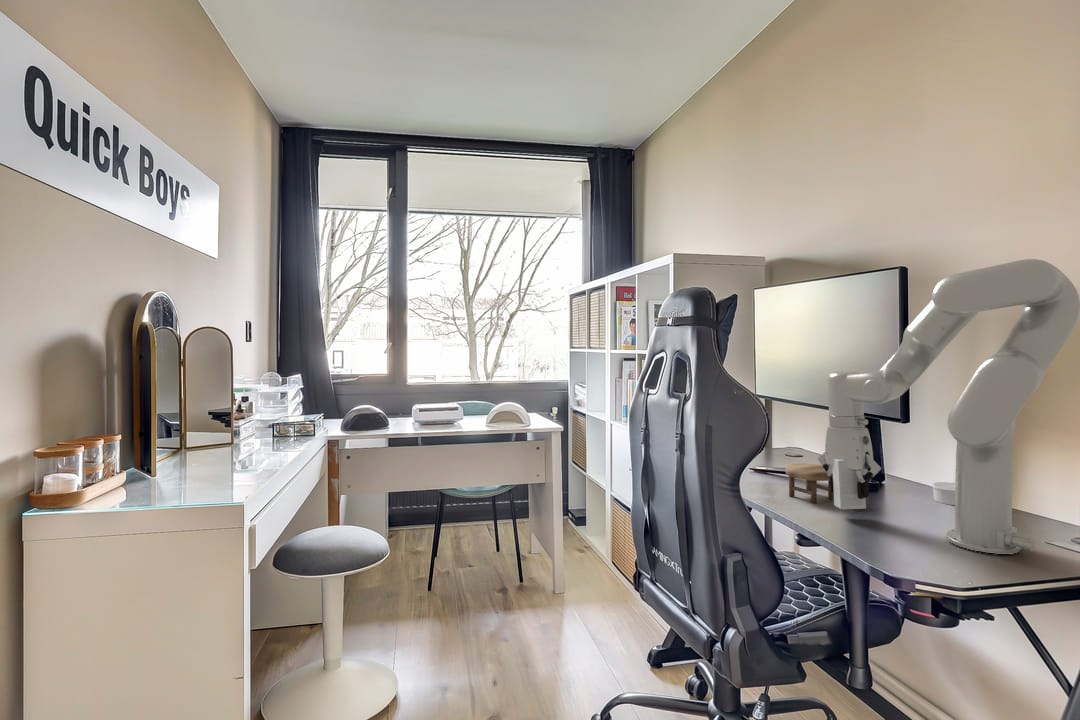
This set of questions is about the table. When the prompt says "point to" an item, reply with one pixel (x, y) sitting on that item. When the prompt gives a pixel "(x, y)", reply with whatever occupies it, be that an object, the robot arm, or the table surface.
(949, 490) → the ramekin
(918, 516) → the table surface
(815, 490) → the walnut stool
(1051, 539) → the table surface
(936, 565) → the table surface
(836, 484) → the skincare box
